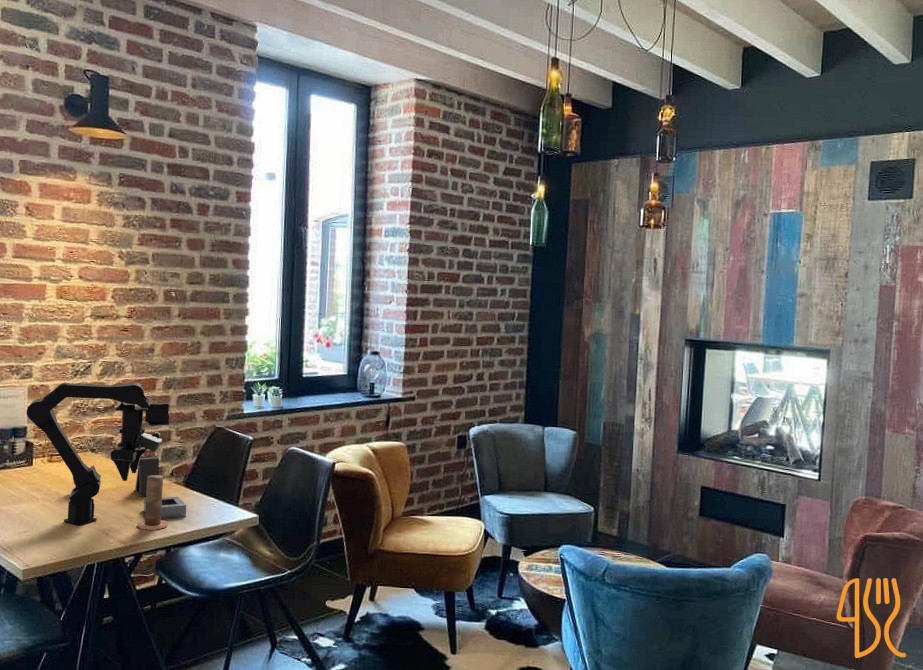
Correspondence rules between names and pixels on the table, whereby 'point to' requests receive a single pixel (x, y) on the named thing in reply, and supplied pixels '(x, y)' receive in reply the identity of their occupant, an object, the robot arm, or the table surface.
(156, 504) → the walnut peg
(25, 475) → the table surface
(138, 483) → the door stopper
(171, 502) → the metal socket
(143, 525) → the terracotta coaster
